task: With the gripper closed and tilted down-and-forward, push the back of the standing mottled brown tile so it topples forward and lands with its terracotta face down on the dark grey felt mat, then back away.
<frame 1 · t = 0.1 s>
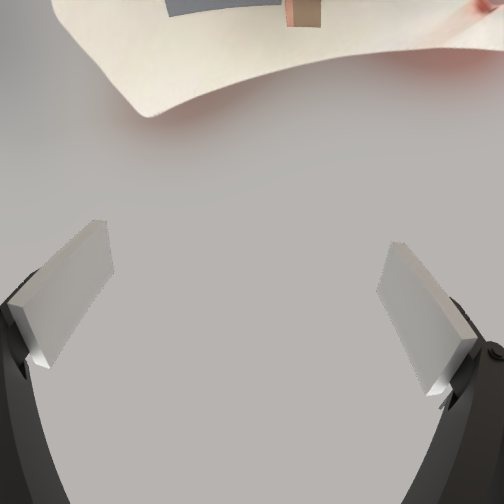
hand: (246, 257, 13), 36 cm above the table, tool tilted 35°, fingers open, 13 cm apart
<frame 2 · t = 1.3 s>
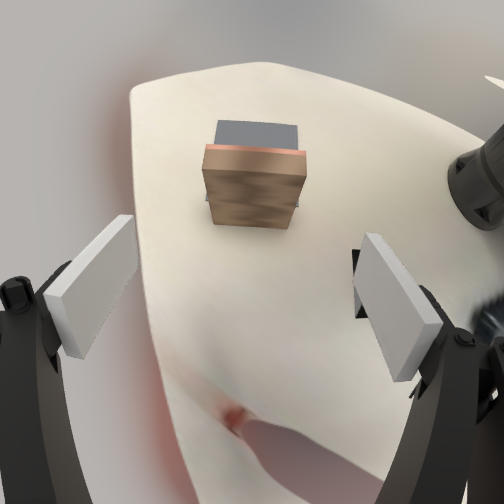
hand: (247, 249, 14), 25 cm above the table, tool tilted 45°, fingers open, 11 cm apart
mottled brown tile: (251, 216, 42), on the table
black notched bracket mount: (370, 283, 41), on the table
felt mat: (255, 159, 45), on the table
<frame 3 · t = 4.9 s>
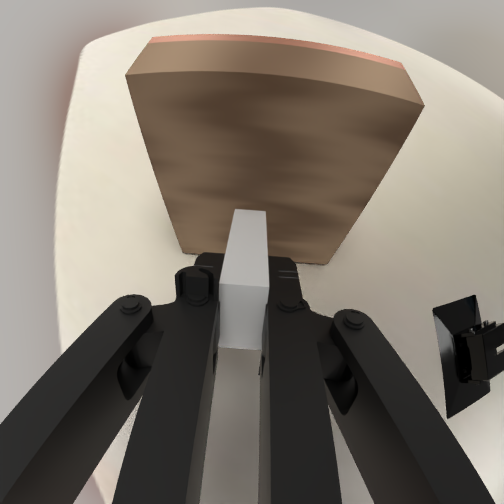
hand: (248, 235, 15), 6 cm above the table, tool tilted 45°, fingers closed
mottled brown tile: (256, 238, 21), on the table, tilted 8°, touching gripper
black notched bracket mount: (460, 353, 20), on the table
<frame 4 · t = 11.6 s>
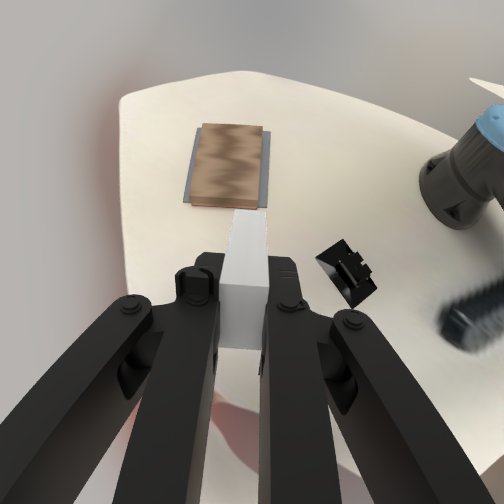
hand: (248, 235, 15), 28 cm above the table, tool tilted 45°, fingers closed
mottled brown tile: (223, 202, 45), point 2 cm above the table, tilted 90°, touching felt mat
black notched bracket mount: (346, 275, 45), on the table
felt mat: (229, 164, 49), on the table
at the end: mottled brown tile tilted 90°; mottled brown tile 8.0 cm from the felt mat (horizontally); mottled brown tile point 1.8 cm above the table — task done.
